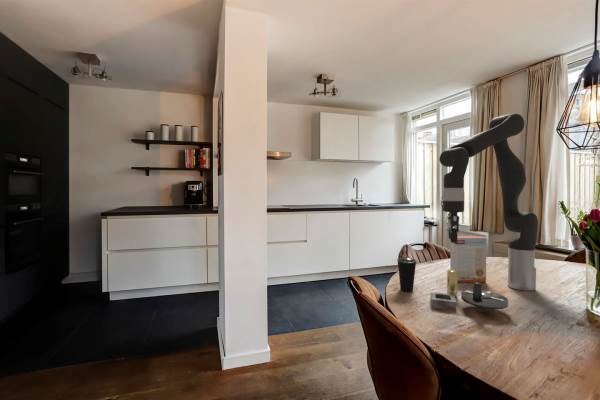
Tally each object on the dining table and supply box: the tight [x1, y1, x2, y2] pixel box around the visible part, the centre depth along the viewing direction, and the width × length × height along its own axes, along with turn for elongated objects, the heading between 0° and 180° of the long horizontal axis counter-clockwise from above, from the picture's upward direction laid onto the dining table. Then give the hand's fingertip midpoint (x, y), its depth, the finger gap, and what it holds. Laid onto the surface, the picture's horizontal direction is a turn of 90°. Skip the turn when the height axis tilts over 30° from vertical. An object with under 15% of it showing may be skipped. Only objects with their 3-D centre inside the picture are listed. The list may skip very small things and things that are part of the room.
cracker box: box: [449, 235, 487, 283], centre depth 140 cm, size 14×6×21 cm, turn 84°
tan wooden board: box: [430, 291, 511, 323], centre depth 106 cm, size 23×15×4 cm, turn 68°
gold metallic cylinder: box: [446, 269, 458, 299], centre depth 118 cm, size 4×4×11 cm
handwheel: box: [460, 282, 509, 310], centre depth 104 cm, size 14×14×8 cm
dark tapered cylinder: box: [397, 244, 418, 293], centre depth 125 cm, size 8×8×20 cm
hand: (452, 240), depth 117 cm, fingers open, 8 cm apart
